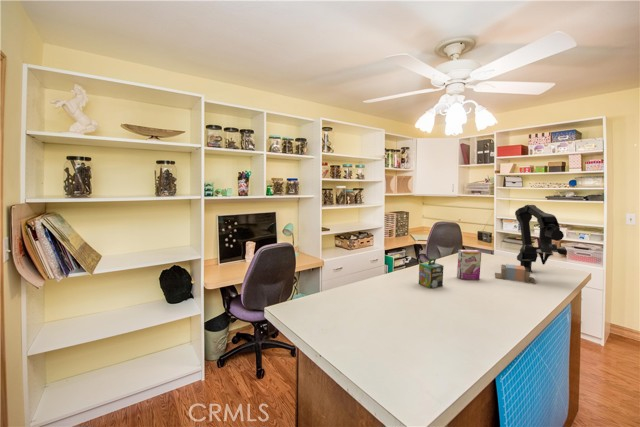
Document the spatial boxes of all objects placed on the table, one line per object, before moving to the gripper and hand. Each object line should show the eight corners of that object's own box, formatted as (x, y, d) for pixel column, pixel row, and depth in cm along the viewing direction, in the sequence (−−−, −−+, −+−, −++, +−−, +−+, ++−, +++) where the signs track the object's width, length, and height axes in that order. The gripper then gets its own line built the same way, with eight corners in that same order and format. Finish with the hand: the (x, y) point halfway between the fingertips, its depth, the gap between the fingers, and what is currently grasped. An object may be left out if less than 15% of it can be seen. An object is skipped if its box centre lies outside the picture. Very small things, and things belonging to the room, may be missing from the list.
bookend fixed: (495, 273, 176) (495, 263, 176) (504, 274, 174) (505, 265, 173) (495, 278, 168) (495, 268, 167) (505, 279, 165) (506, 269, 165)
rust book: (513, 276, 171) (514, 265, 170) (523, 277, 168) (524, 266, 168) (514, 280, 164) (515, 268, 163) (524, 281, 161) (525, 269, 161)
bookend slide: (523, 277, 169) (523, 267, 168) (533, 278, 167) (534, 268, 166) (524, 282, 161) (525, 271, 160) (535, 283, 158) (536, 273, 157)
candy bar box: (459, 279, 166) (461, 251, 164) (456, 276, 171) (457, 249, 169) (480, 280, 165) (481, 251, 163) (476, 277, 170) (477, 249, 168)
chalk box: (430, 281, 164) (431, 255, 162) (443, 286, 155) (444, 259, 154) (417, 283, 160) (418, 257, 158) (430, 288, 151) (431, 261, 150)
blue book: (504, 275, 173) (505, 264, 172) (513, 276, 171) (514, 265, 170) (505, 279, 166) (506, 267, 165) (514, 280, 164) (515, 268, 163)
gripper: (526, 237, 159) (524, 265, 161) (570, 241, 150) (567, 270, 151) (524, 234, 169) (522, 260, 170) (566, 237, 159) (563, 265, 161)
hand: (543, 264), depth 163 cm, fingers closed
